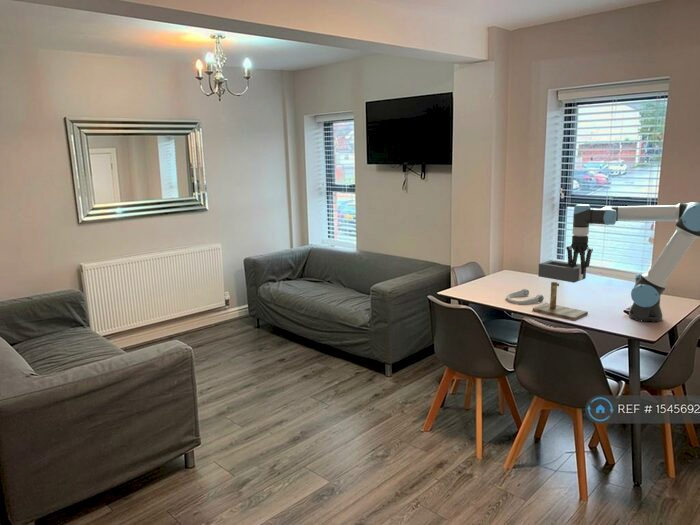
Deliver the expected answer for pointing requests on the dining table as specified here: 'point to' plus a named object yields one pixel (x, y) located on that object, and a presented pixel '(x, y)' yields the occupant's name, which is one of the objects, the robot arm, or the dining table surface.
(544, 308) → the hook board
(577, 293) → the dining table surface
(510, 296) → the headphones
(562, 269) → the grey storage bin
